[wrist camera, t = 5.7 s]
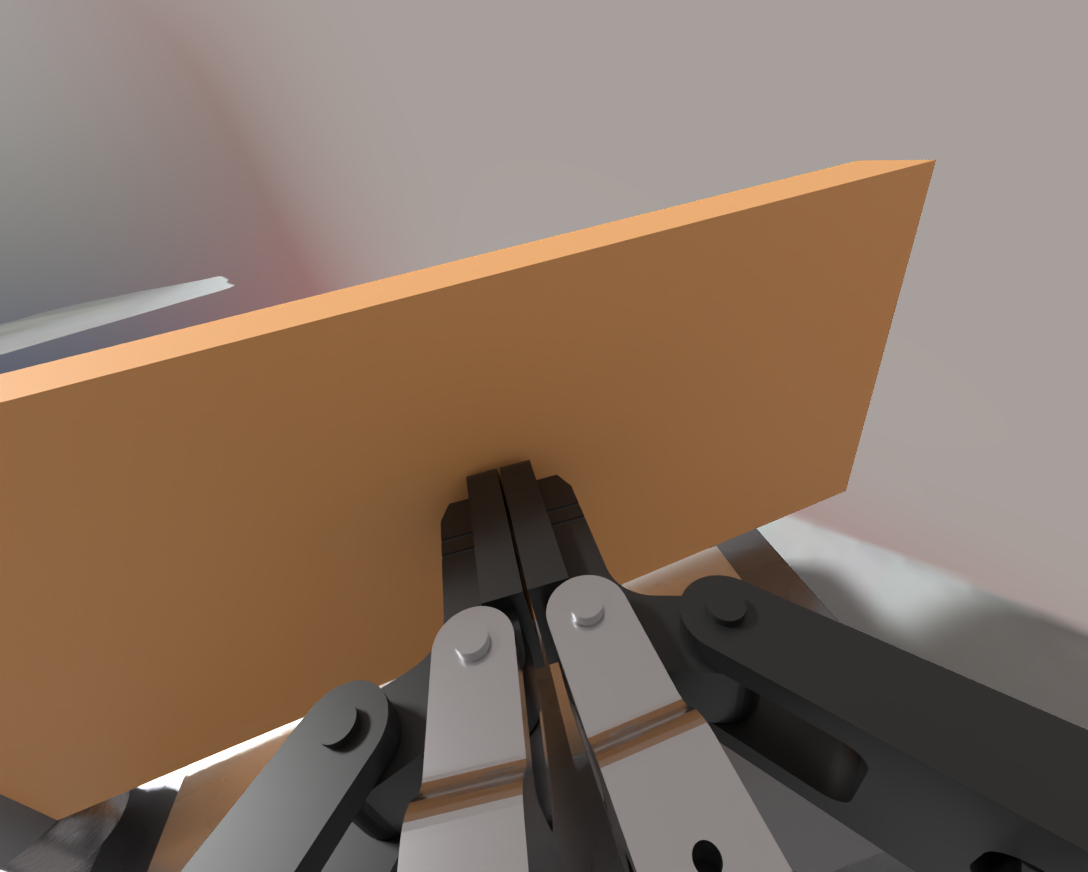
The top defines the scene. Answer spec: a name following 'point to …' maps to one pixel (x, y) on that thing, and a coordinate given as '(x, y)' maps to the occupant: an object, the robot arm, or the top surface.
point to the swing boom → (410, 462)
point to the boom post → (72, 840)
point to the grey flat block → (583, 827)
